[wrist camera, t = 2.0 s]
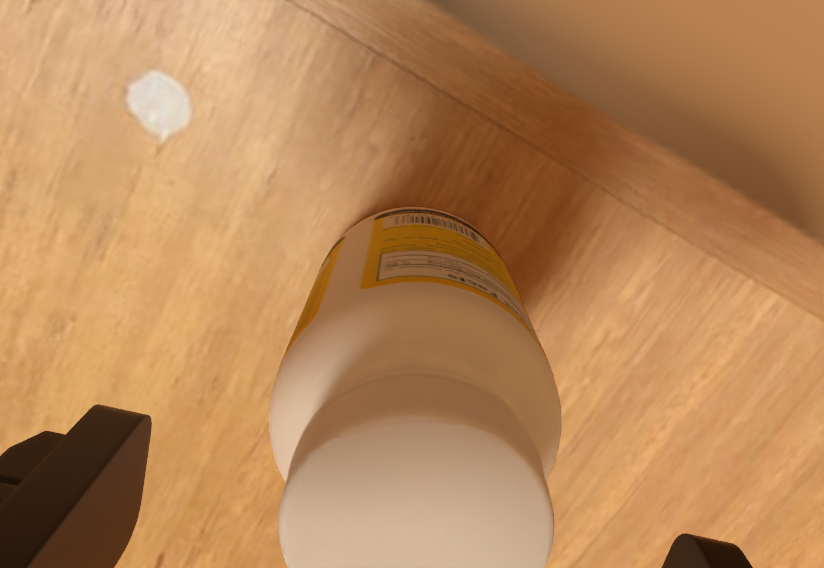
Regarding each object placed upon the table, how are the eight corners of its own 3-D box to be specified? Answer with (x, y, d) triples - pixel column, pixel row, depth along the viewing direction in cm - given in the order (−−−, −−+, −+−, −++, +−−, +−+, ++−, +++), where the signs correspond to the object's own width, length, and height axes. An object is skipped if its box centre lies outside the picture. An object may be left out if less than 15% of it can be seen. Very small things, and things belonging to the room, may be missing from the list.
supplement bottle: (378, 413, 20) (344, 725, 11) (281, 260, 18) (143, 468, 9) (544, 333, 19) (661, 598, 10) (456, 166, 18) (498, 292, 8)
